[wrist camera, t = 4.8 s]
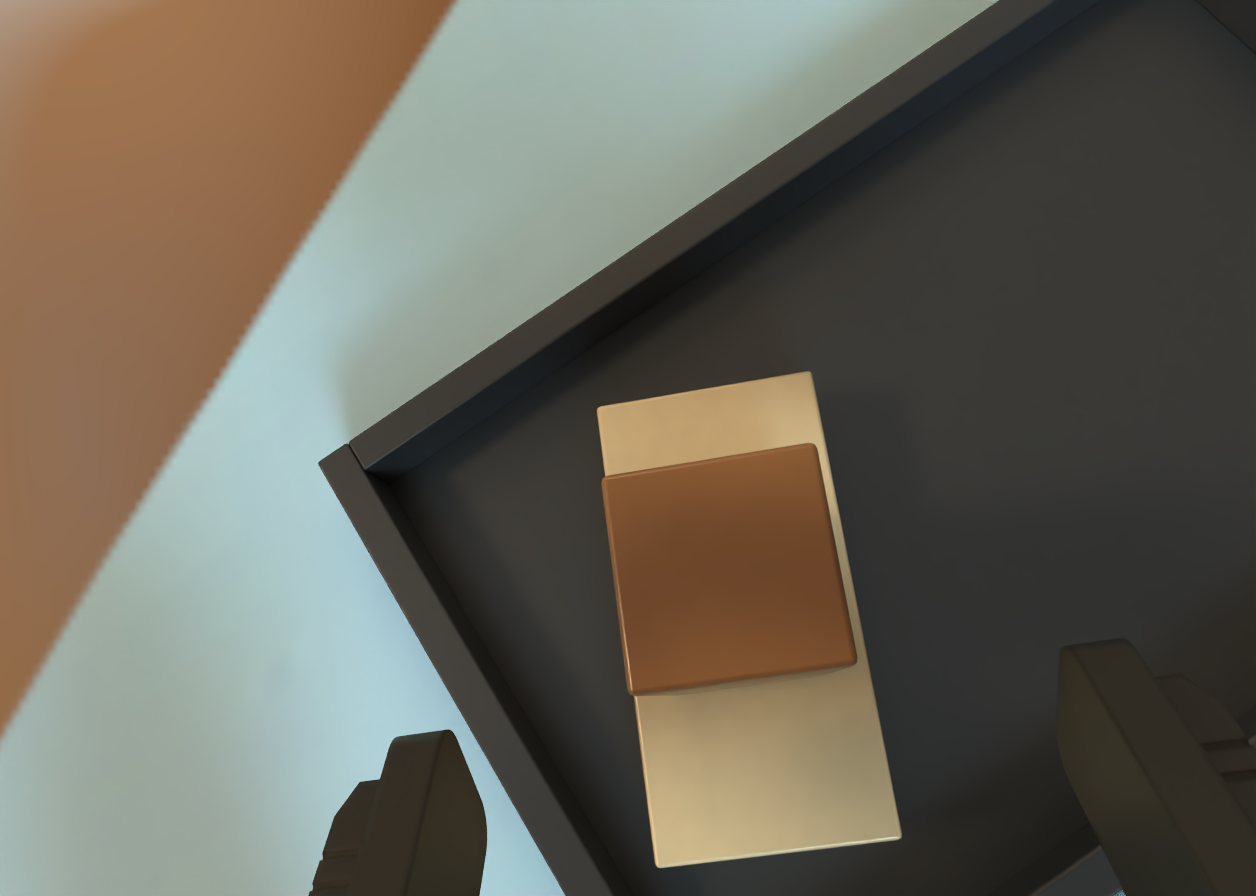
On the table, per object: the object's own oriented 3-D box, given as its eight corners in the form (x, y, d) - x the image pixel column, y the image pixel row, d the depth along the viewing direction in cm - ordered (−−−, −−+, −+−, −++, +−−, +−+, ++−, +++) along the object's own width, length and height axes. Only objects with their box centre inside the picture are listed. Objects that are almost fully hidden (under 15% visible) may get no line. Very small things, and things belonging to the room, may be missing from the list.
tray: (1148, -57, 23) (1185, -128, 21) (1696, 437, 19) (1806, 407, 17) (355, 482, 23) (316, 462, 21) (729, 1121, 18) (724, 1174, 16)
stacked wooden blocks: (610, 431, 22) (524, 287, 14) (807, 398, 21) (830, 230, 14) (666, 851, 19) (599, 956, 12) (890, 825, 19) (974, 916, 11)
